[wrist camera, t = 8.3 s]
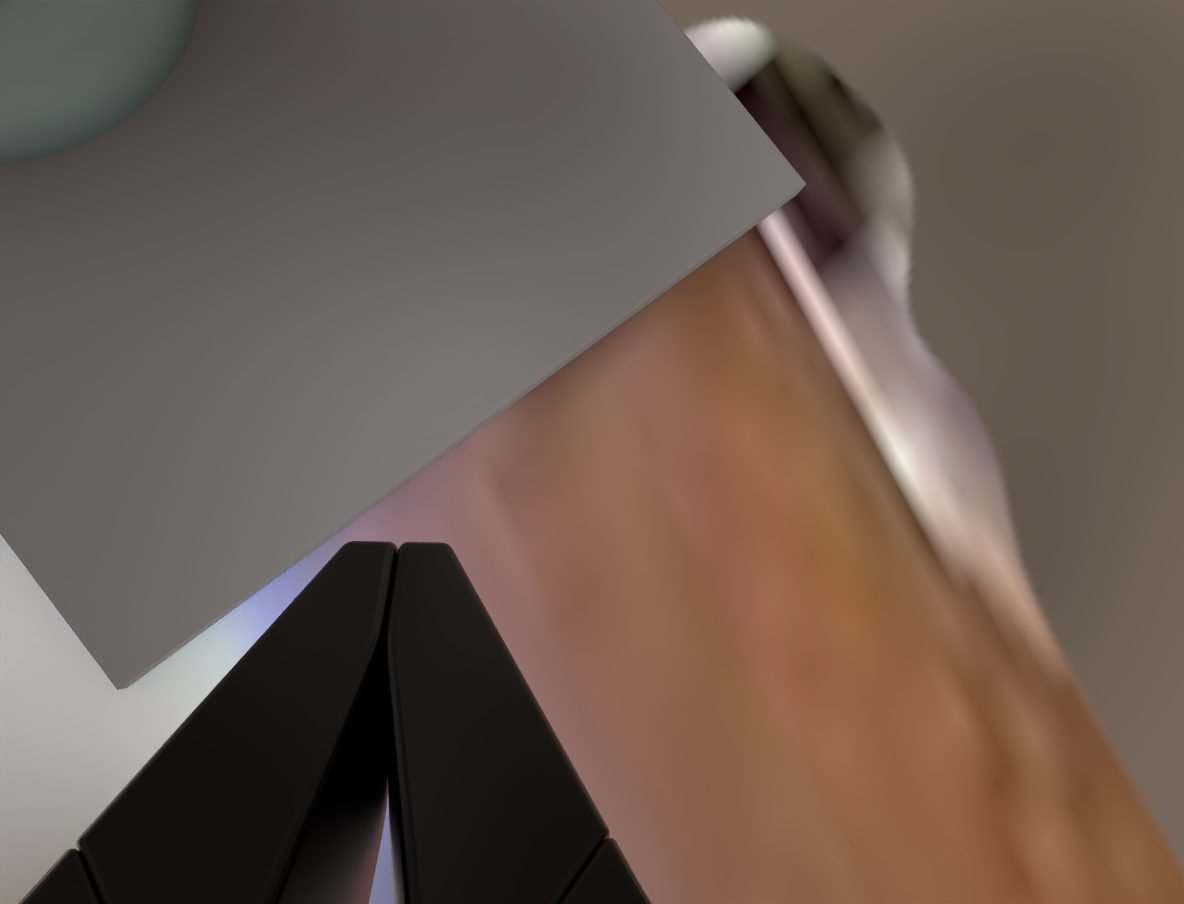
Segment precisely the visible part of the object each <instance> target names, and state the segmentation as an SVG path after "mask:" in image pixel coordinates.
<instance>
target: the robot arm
mask: <svg viewBox="0 0 1184 904" xmlns="http://www.w3.org/2000/svg"><path fill="white" fill-rule="evenodd" d="M388 793H389V827H390V849H391V866H392V883H393V899H394V904H652V903H651V902H650V900H649V898H648V897H647V895H646V893H645V892H644V890H643V889H642V887H641V885H640V884H639V882H638V880H637V878H636V876H635V875H634V873H633V871H632V869H631V868H630V866H629V864H628V862H627V860H626V859H625V857H624V855H623V853H622V851H621V850H620V848H619V846H618V844H617V842H616V841H615V840H614V839H613V838H609V829H608V827H607V825H606V824H605V822H604V820H603V818H602V817H601V815H600V813H599V811H598V809H597V808H596V806H595V804H594V802H593V800H592V799H591V797H590V795H589V793H588V791H587V790H586V788H585V786H584V784H583V782H582V781H581V779H580V777H579V775H578V773H577V772H576V770H575V768H574V766H573V764H572V763H571V761H570V759H569V757H568V755H567V754H566V752H565V750H564V748H563V747H562V745H561V743H560V741H559V739H558V738H557V736H556V734H555V732H554V730H553V729H552V727H551V725H550V723H549V721H548V720H547V718H546V716H545V714H544V712H543V711H542V709H541V707H540V705H539V703H538V702H537V700H536V698H535V696H534V694H533V693H532V691H531V689H530V687H529V685H528V684H527V682H526V680H525V678H524V677H523V675H522V673H521V671H520V669H519V668H518V666H517V664H516V662H515V660H514V659H513V657H512V655H511V653H510V651H509V650H508V648H507V646H506V644H505V642H504V641H503V639H502V637H501V635H500V633H499V632H498V630H497V628H496V626H495V624H494V623H493V621H492V619H491V617H490V615H489V614H488V612H487V610H486V608H485V607H484V605H483V603H482V601H481V599H480V598H479V596H478V594H477V592H476V590H475V589H474V587H473V585H472V583H471V581H470V580H469V578H468V576H467V574H466V572H465V571H464V569H463V567H462V565H461V563H460V562H459V560H458V558H457V556H456V554H455V553H454V551H453V549H452V548H451V547H450V546H449V545H448V544H446V543H439V542H405V543H403V544H402V545H401V546H400V548H399V549H397V547H396V545H395V544H394V543H392V542H379V541H352V542H348V543H346V544H345V545H343V546H342V547H341V548H340V550H339V551H338V552H337V553H336V554H335V555H334V556H333V557H332V558H331V560H330V561H329V562H328V563H327V564H326V565H325V566H324V567H323V568H322V570H321V571H320V572H319V573H318V574H317V575H316V576H315V577H314V578H313V579H312V581H311V582H310V583H309V584H308V585H307V586H306V587H305V588H304V589H303V591H302V592H301V593H300V594H299V595H298V596H297V597H296V598H295V599H294V600H293V602H292V603H291V604H290V605H289V606H288V607H287V608H286V609H285V610H284V612H283V613H282V614H281V615H280V616H279V617H278V618H277V619H276V620H275V622H274V623H273V624H272V625H271V626H270V627H269V628H268V629H267V630H266V631H265V633H264V634H263V635H262V636H261V637H260V638H259V639H258V640H257V641H256V643H255V644H254V645H253V646H252V647H251V648H250V649H249V650H248V651H247V653H246V654H245V655H244V656H243V657H242V658H241V659H240V660H239V661H238V662H237V664H236V665H235V666H234V667H233V668H232V669H231V670H230V671H229V672H228V674H227V675H226V676H225V677H224V678H223V679H222V680H221V681H220V682H219V683H218V685H217V686H216V687H215V688H214V689H213V690H212V691H211V692H210V693H209V695H208V696H207V697H206V698H205V699H204V700H203V701H202V702H201V703H200V705H199V706H198V707H197V708H196V709H195V710H194V711H193V712H192V713H191V714H190V716H189V717H188V718H187V719H186V720H185V721H184V722H183V723H182V724H181V726H180V727H179V728H178V729H177V730H176V731H175V732H174V733H173V734H172V735H171V737H170V738H169V739H168V740H167V741H166V742H165V743H164V744H163V745H162V747H161V748H160V749H159V750H158V751H157V752H156V753H155V754H154V755H153V757H152V758H151V759H150V760H149V761H148V762H147V763H146V764H145V765H144V766H143V768H142V769H141V770H140V771H139V772H138V773H137V774H136V775H135V776H134V778H133V779H132V780H131V781H130V782H129V783H128V784H127V785H126V786H125V788H124V789H123V790H122V791H121V792H120V793H119V794H118V795H117V796H116V797H115V799H114V800H113V801H112V802H111V803H110V804H109V805H108V806H107V807H106V809H105V810H104V811H103V812H102V813H101V814H100V815H99V816H98V817H97V818H96V820H95V821H94V822H93V823H92V824H91V825H90V826H89V827H88V828H87V830H86V831H85V832H84V833H83V834H82V835H81V836H80V837H79V838H78V840H77V842H76V846H77V850H76V849H69V850H67V851H66V852H65V853H64V854H63V855H62V856H61V857H60V859H59V860H58V861H57V862H56V863H55V864H54V865H53V866H52V868H51V869H50V870H49V871H48V872H47V873H46V874H45V875H44V876H43V878H42V879H41V880H40V881H39V882H38V883H37V884H36V885H35V886H34V887H33V889H32V890H31V891H30V892H29V893H28V894H27V895H26V896H25V897H24V898H23V899H22V900H21V901H20V903H19V904H368V902H369V897H370V892H371V887H372V882H373V877H374V872H375V867H376V862H377V857H378V852H379V847H380V842H381V837H382V831H383V825H384V819H385V813H386V807H387V798H388Z"/></svg>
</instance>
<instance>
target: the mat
mask: <svg viewBox="0 0 1184 904" xmlns="http://www.w3.org/2000/svg"><path fill="white" fill-rule="evenodd" d="M805 185H806V183H805V182H804V181H803V179H802V178H801V177H800V176H799V174H798V173H797V172H796V171H795V169H794V168H793V167H792V166H791V165H790V163H789V162H788V161H787V160H786V158H785V157H784V156H783V155H782V153H781V152H780V151H779V150H778V148H777V147H776V146H775V145H774V143H773V142H772V141H771V140H770V139H769V137H768V136H767V135H766V134H765V132H764V131H763V130H762V129H761V127H760V126H759V125H758V124H757V122H756V121H755V120H754V119H753V117H752V116H751V115H750V114H749V113H748V111H747V110H746V109H745V108H744V106H743V105H742V104H741V103H740V101H739V100H738V99H737V98H736V96H735V95H734V94H733V93H732V91H731V90H730V89H729V88H728V87H727V85H726V84H725V83H724V82H723V80H722V79H721V78H720V77H719V75H718V74H717V73H716V72H715V70H714V69H713V68H712V67H711V65H710V64H709V63H708V62H707V61H706V59H705V58H704V57H703V56H702V54H701V53H700V52H699V51H698V49H697V48H696V47H695V46H694V44H693V43H692V42H691V41H690V39H689V38H688V37H687V36H686V34H685V33H684V32H683V31H682V30H681V28H680V27H679V26H678V25H677V23H676V22H675V21H674V20H673V19H672V17H671V16H670V15H669V13H668V12H667V11H666V10H665V8H664V7H663V6H662V5H661V4H660V2H659V1H658V0H199V2H198V10H197V16H196V19H195V23H194V26H193V30H192V33H191V36H190V39H189V41H188V43H187V45H186V47H185V50H184V52H183V54H182V56H181V58H180V60H179V62H178V63H177V65H176V66H175V68H174V69H173V71H172V72H171V74H170V75H169V77H168V79H167V80H166V81H165V82H164V83H163V85H162V86H161V87H160V88H159V89H158V90H157V91H156V93H155V94H154V95H153V96H152V97H151V98H150V99H149V100H148V101H147V102H146V103H145V104H144V105H143V106H141V107H140V108H139V109H138V110H137V111H136V112H135V113H133V114H132V115H131V116H130V117H129V118H127V119H126V120H124V121H123V122H121V123H120V124H118V125H117V126H115V127H114V128H112V129H111V130H109V131H108V132H106V133H104V134H102V135H100V136H98V137H96V138H94V139H92V140H90V141H88V142H86V143H84V144H82V145H79V146H77V147H74V148H71V149H68V150H66V151H63V152H60V153H57V154H54V155H50V156H46V157H42V158H37V159H33V160H29V161H23V162H14V163H6V164H0V534H1V535H2V536H3V538H4V539H5V540H6V542H7V543H8V544H9V546H10V547H11V548H12V550H13V551H14V552H15V554H16V555H17V556H18V558H19V559H20V560H21V562H22V563H23V564H24V566H25V567H26V568H27V570H28V571H29V572H30V574H31V575H32V576H33V578H34V579H35V580H36V582H37V583H38V584H39V586H40V587H41V588H42V590H43V591H44V592H45V594H46V595H47V596H48V598H49V599H50V600H51V602H52V603H53V604H54V606H55V607H56V608H57V610H58V611H59V612H60V614H61V615H62V616H63V618H64V619H65V620H66V622H67V623H68V624H69V626H70V627H71V628H72V630H73V631H74V632H75V634H76V635H77V636H78V638H79V639H80V640H81V642H82V643H83V644H84V646H85V647H86V648H87V650H88V651H89V652H90V654H91V655H92V656H93V658H94V659H95V660H96V662H97V663H98V664H99V666H100V667H101V668H102V670H103V671H104V672H105V674H106V675H107V676H108V678H109V679H110V680H111V682H112V683H113V684H114V686H115V687H116V688H117V690H118V689H124V688H127V687H129V686H130V685H131V684H133V683H134V682H135V681H137V680H138V679H139V678H141V677H142V676H143V675H145V674H146V673H148V672H149V671H150V670H152V669H153V668H154V667H156V666H157V665H158V664H160V663H161V662H163V661H164V660H165V659H167V658H168V657H169V656H171V655H172V654H173V653H175V652H176V651H177V650H179V649H180V648H182V647H183V646H184V645H186V644H187V643H188V642H190V641H191V640H192V639H194V638H195V637H196V636H198V635H199V634H201V633H202V632H203V631H205V630H206V629H207V628H209V627H210V626H211V625H213V624H214V623H216V622H217V621H218V620H220V619H221V618H222V617H224V616H225V615H226V614H228V613H229V612H230V611H232V610H233V609H235V608H236V607H237V606H239V605H240V604H241V603H243V602H244V601H245V600H247V599H248V598H249V597H251V596H252V595H254V594H255V593H256V592H258V591H259V590H260V589H262V588H263V587H264V586H266V585H267V584H269V583H270V582H271V581H273V580H274V579H275V578H277V577H278V576H279V575H281V574H282V573H283V572H285V571H286V570H288V569H289V568H290V567H292V566H293V565H294V564H296V563H297V562H298V561H300V560H301V559H303V558H304V557H305V556H307V555H308V554H309V553H311V552H312V551H313V550H315V549H316V548H317V547H319V546H320V545H322V544H323V543H324V542H326V541H327V540H328V539H330V538H331V537H332V536H334V535H335V534H336V533H338V532H339V531H341V530H342V529H343V528H345V527H346V526H347V525H349V524H350V523H351V522H353V521H354V520H356V519H357V518H358V517H360V516H361V515H362V514H364V513H365V512H366V511H368V510H369V509H370V508H372V507H373V506H375V505H376V504H377V503H379V502H380V501H381V500H383V499H384V498H385V497H387V496H388V495H389V494H391V493H392V492H394V491H395V490H396V489H398V488H399V487H400V486H402V485H403V484H404V483H406V482H407V481H409V480H410V479H411V478H413V477H414V476H415V475H417V474H418V473H419V472H421V471H422V470H423V469H425V468H426V467H428V466H429V465H430V464H432V463H433V462H434V461H436V460H437V459H438V458H440V457H441V456H443V455H444V454H445V453H447V452H448V451H449V450H451V449H452V448H453V447H455V446H456V445H457V444H459V443H460V442H462V441H463V440H464V439H466V438H467V437H468V436H470V435H471V434H472V433H474V432H475V431H476V430H478V429H479V428H481V427H482V426H483V425H485V424H486V423H487V422H489V421H490V420H491V419H493V418H494V417H496V416H497V415H498V414H500V413H501V412H502V411H504V410H505V409H506V408H508V407H509V406H510V405H512V404H513V403H515V402H516V401H517V400H519V399H520V398H521V397H523V396H524V395H525V394H527V393H528V392H529V391H531V390H532V389H534V388H535V387H536V386H538V385H539V384H540V383H542V382H543V381H544V380H546V379H547V378H549V377H550V376H551V375H553V374H554V373H555V372H557V371H558V370H559V369H561V368H562V367H563V366H565V365H566V364H568V363H569V362H570V361H572V360H573V359H574V358H576V357H577V356H578V355H580V354H581V353H583V352H584V351H585V350H587V349H588V348H589V347H591V346H592V345H593V344H595V343H596V342H597V341H599V340H600V339H602V338H603V337H604V336H606V335H607V334H608V333H610V332H611V331H612V330H614V329H615V328H616V327H618V326H619V325H621V324H622V323H623V322H625V321H626V320H627V319H629V318H630V317H631V316H633V315H634V314H636V313H637V312H638V311H640V310H641V309H642V308H644V307H645V306H646V305H648V304H649V303H650V302H652V301H653V300H655V299H656V298H657V297H659V296H660V295H661V294H663V293H664V292H665V291H667V290H668V289H669V288H671V287H672V286H674V285H675V284H676V283H678V282H679V281H680V280H682V279H683V278H684V277H686V276H687V275H689V274H690V273H691V272H693V271H694V270H695V269H697V268H698V267H699V266H701V265H702V264H703V263H705V262H706V261H708V260H709V259H710V258H712V257H713V256H714V255H716V254H717V253H718V252H720V251H721V250H723V249H724V248H725V247H727V246H728V245H729V244H731V243H732V242H733V241H735V240H736V239H737V238H739V237H740V236H742V235H743V234H744V233H746V232H747V231H748V230H750V229H751V228H752V227H754V226H755V225H756V224H758V223H759V222H761V221H762V220H763V219H765V218H766V217H767V216H769V215H770V214H771V213H773V212H774V211H776V210H777V209H778V208H780V207H781V206H782V205H784V204H785V203H786V202H788V201H789V200H790V199H792V198H793V197H795V196H796V195H797V194H798V193H799V192H800V191H801V189H802V188H803V187H804V186H805Z"/></svg>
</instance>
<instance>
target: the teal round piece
mask: <svg viewBox="0 0 1184 904" xmlns="http://www.w3.org/2000/svg"><path fill="white" fill-rule="evenodd" d="M198 2H199V0H0V164H6V163H14V162H23V161H29V160H33V159H37V158H42V157H46V156H50V155H54V154H57V153H60V152H63V151H66V150H68V149H71V148H74V147H77V146H79V145H82V144H84V143H86V142H88V141H90V140H92V139H94V138H96V137H98V136H100V135H102V134H104V133H106V132H108V131H109V130H111V129H112V128H114V127H115V126H117V125H118V124H120V123H121V122H123V121H124V120H126V119H127V118H129V117H130V116H131V115H132V114H133V113H135V112H136V111H137V110H138V109H139V108H140V107H141V106H143V105H144V104H145V103H146V102H147V101H148V100H149V99H150V98H151V97H152V96H153V95H154V94H155V93H156V91H157V90H158V89H159V88H160V87H161V86H162V85H163V83H164V82H165V81H166V80H167V79H168V77H169V75H170V74H171V72H172V71H173V69H174V68H175V66H176V65H177V63H178V62H179V60H180V58H181V56H182V54H183V52H184V50H185V47H186V45H187V43H188V41H189V39H190V36H191V33H192V30H193V26H194V23H195V19H196V16H197V10H198Z"/></svg>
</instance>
